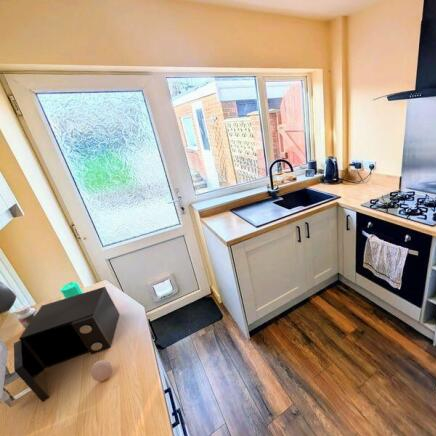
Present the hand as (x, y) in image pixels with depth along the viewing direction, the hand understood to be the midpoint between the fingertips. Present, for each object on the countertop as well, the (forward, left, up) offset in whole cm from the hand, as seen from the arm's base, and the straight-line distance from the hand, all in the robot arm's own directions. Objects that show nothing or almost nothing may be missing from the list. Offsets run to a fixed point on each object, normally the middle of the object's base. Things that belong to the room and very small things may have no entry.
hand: (7, 388), depth 67 cm
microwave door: (-1, +6, -10) cm, 11 cm away
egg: (+20, 0, -10) cm, 22 cm away
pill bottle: (-14, +42, -10) cm, 46 cm away
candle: (0, +48, -10) cm, 49 cm away
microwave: (+9, +21, -10) cm, 25 cm away
